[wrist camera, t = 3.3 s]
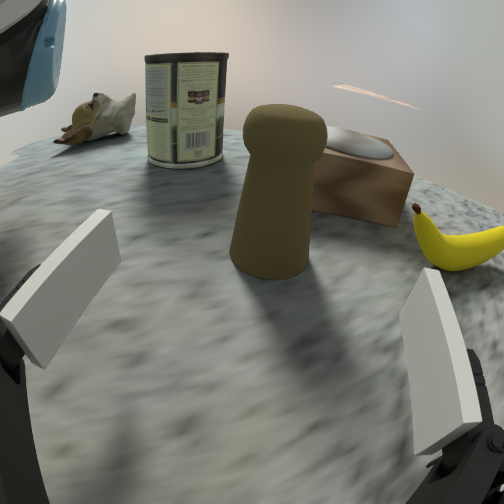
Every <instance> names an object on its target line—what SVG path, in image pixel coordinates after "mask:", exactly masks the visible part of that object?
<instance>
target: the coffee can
mask: <svg viewBox="0 0 504 504" xmlns="http://www.w3.org/2000/svg"><path fill="white" fill-rule="evenodd" d="M228 57H229V53H215V52H214V53H212V52H205V53H204V52H203V53H202V52H196V53H195V52H194V53H169V54H155V55H146V56H145V62H146V122H147V143H148V161H149V162H150V163H152V164H154V165H156V166H159V167H164V168H174V169H187V168H197V167H202V166H206V165H210V164H213V163H215V162H217V161H219V160H220V159H221V158H222V156H223V152H222V147H223V122H224V104H225V87H226V69H227V59H228Z"/></svg>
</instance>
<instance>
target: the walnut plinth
mask: <svg viewBox="0 0 504 504" xmlns="http://www.w3.org/2000/svg"><path fill="white" fill-rule="evenodd" d="M326 127H327V134H328V139H327V144H326V147H325V150H324V152H323V154H322V155H321V157H320V158H319V159H318V160H317V161H316V162H315V163H314V175H313V196H312V210H314V211H319V212H324V213H330V214H335V215H340V216H345V217H350V218H355V219H360V220H364V221H369V222H374V223H378V224H383V225H388V226H392V227H397V224H398V221H399V218H400V215H401V213H402V210H403V207H404V204H405V201H406V198H407V195H408V192H409V189H410V186H411V183H412V179H413V176H414V173H413V172H412V170H411V169H410V168H409V166H408V165H407V164H406V162H405V161H404V160H403V158H402V157H401V156H400V155H399V153H398V152H397V151H396V149H395V148H394V147H393V146H392V145H391V143H390V142H389V141H388V140H385V139H382V138H378V137H374V136H369V135H366V134H361V133H358V132H355V131H351V130H347V129H342V128H336V127H329V126H326Z"/></svg>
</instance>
